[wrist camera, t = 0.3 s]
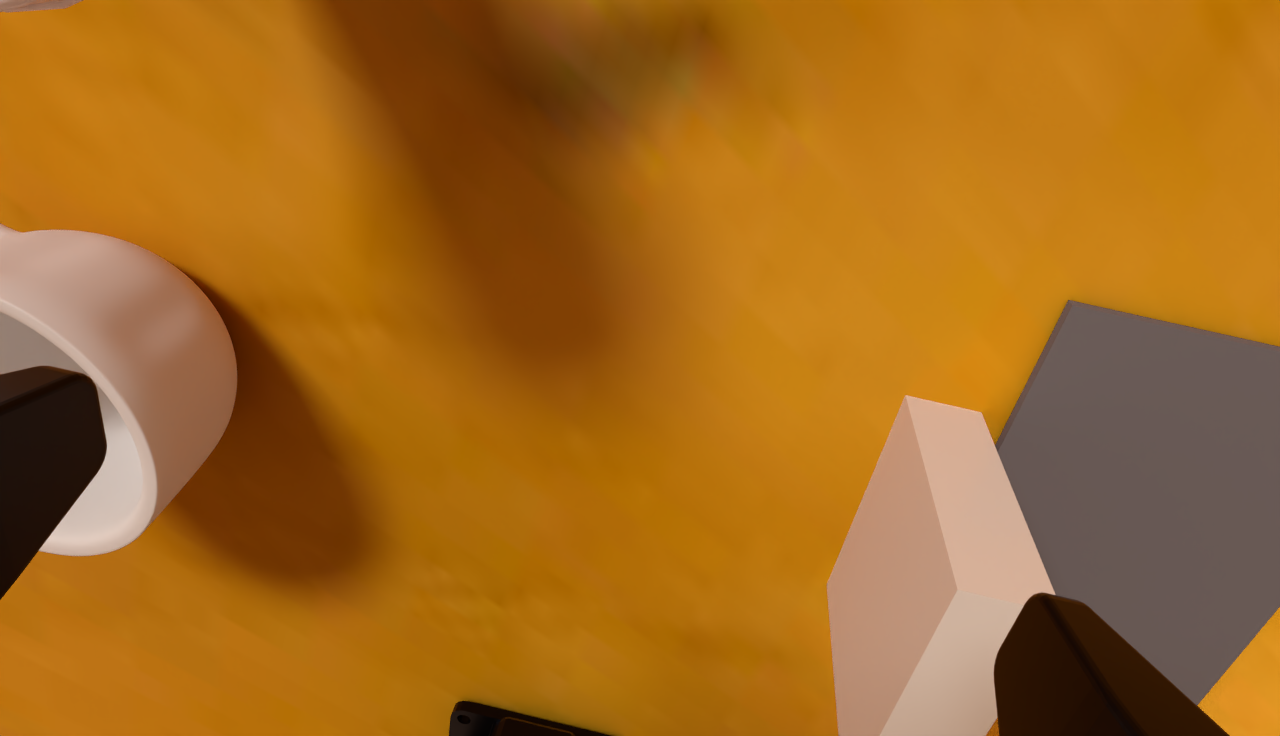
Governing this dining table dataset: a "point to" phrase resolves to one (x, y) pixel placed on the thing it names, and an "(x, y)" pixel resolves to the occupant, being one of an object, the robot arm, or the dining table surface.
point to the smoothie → (34, 5)
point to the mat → (1154, 483)
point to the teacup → (120, 369)
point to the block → (929, 581)
